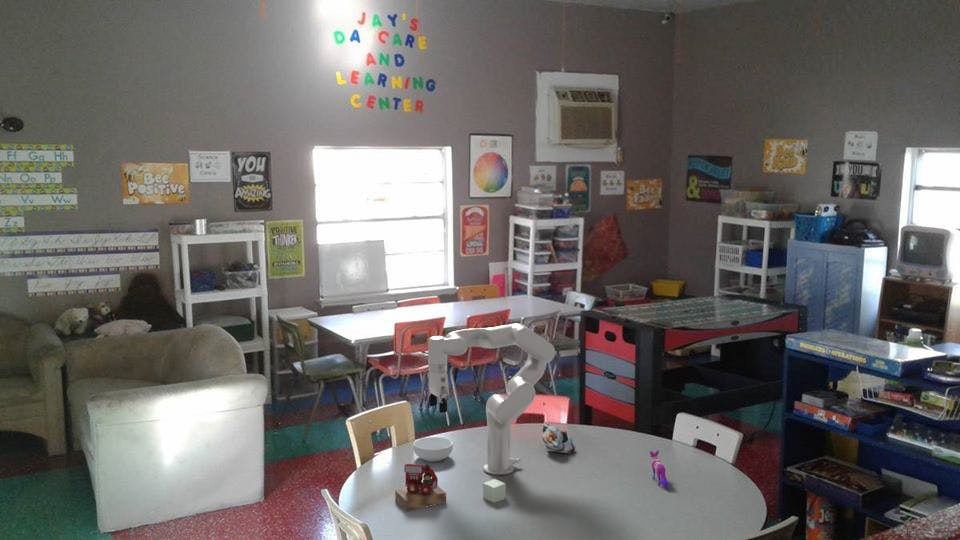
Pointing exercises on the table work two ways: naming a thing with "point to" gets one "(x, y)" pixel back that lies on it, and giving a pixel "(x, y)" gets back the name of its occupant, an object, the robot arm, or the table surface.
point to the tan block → (419, 498)
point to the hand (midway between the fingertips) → (438, 408)
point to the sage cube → (494, 490)
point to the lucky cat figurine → (557, 440)
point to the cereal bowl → (433, 448)
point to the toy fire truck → (420, 478)
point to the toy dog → (658, 468)
